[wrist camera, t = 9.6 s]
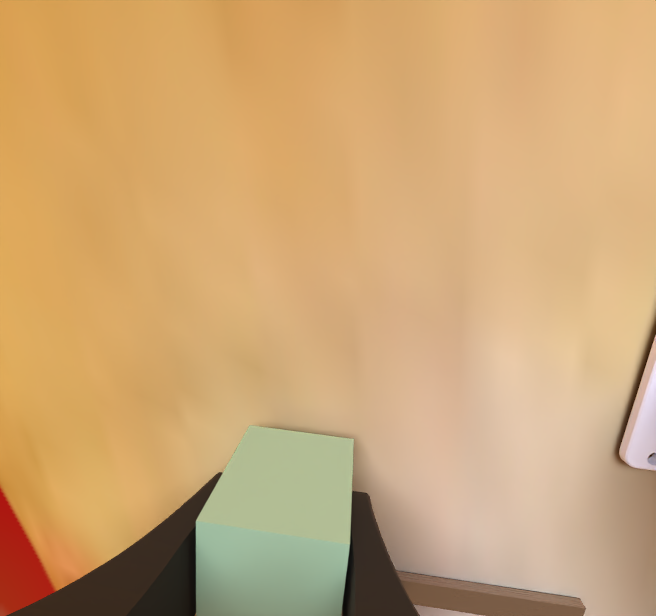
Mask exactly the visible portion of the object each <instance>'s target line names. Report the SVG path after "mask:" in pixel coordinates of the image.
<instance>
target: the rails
mask: <svg viewBox="0 0 656 616" xmlns="http://www.w3.org/2000/svg"><path fill="white" fill-rule="evenodd" d="M396 572H397V574H398V576H399V578H400V580H401V582H402V584H403V586H404V588H405V590H406V592H407V594H408V596H409V598H410V600H411V602H412V603H413V604H415V605H421V606H428V607H434V608H440V609H447V610H453V611H459V612H466V613H472V614H478V615H485V616H583V615H584V612H585V609H586V608H585V606H584V605H583V603H582V601H581V600H580V599H579V598H572V597H566V596H559V595H553V594H546V593H539V592H533V591H526V590H520V589H513V588H506V587H500V586H493V585H486V584H480V583H473V582H467V581H460V580H453V579H447V578H440V577H434V576H427V575H420V574H414V573H407V572H400V571H396Z"/></svg>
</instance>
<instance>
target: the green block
mask: <svg viewBox="0 0 656 616" xmlns="http://www.w3.org/2000/svg"><path fill="white" fill-rule="evenodd" d="M353 449H354V439H351V438H343V437H336V436H328V435H320V434H313V433H305V432H298V431H290V430H283V429H275V428H267V427H260V426H252V425H250V426H249V427H248V429H247V431H246V433H245V435H244V436H243V438H242V440H241V442H240V443H239V445H238V447H237V449H236V451H235V452H234V454H233V456H232V458H231V459H230V461H229V463H228V465H227V467H226V468H225V470H224V472H223V474H222V475H221V477H220V479H219V481H218V483H217V484H216V486H215V488H214V490H213V491H212V493H211V495H210V497H209V499H208V500H207V502H206V504H205V506H204V507H203V509H202V511H201V513H200V514H199V516H198V518H197V520H196V616H341V613H342V604H343V596H344V588H345V580H346V572H347V564H348V556H349V548H350V529H351V503H352V476H353Z"/></svg>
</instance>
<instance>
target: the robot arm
mask: <svg viewBox="0 0 656 616" xmlns="http://www.w3.org/2000/svg"><path fill="white" fill-rule="evenodd" d="M652 453H654V454H653V456H651V457H650V458H648V457H649V455H650V454H652ZM619 455H620V457H621V459H622V460H624V461H625V462H626V463H627V464H628V465H629V466H631V467H634V468H638V469H646V470H654V471H656V335H655V338H654V342H653V345H652V348H651V351H650V354H649V357H648V361H647V364H646V367H645V370H644V373H643V377H642V380H641V383H640V386H639V389H638V392H637V396H636V399H635V402H634V405H633V408H632V411H631V415H630V418H629V421H628V424H627V427H626V430H625V434H624V437H623V440H622V443H621V446H620V450H619ZM222 474H223V473H221V472H219V473H218V474H216V475H215V476H214V477H213V478H212V479H211V480H210V481H209V482H208V483H207V484H205V485H204V486H203V487H202V488H201V489H200V490H199V491H198V492H197V493H196V494H195V495H193V496H192V497H191V498H190V499H189V500H188V501H187V502H186V503H184V504H183V505H182V506H181V507H180V508H179V509H178V510H176V511H175V512H174V513H173V514H172V515H171V516H169V517H168V518H167V519H166V520H164V521H163V522H162V523H161V524H159V525H158V526H157V527H156V528H154V529H153V530H152V531H151V532H149V533H148V534H147V535H145V536H144V537H143V538H141V539H140V540H139V541H137V542H136V543H135V544H133V545H132V546H130V547H129V548H127V549H126V550H125V551H123V552H122V553H120V554H119V555H117V556H116V557H114V558H113V559H111V560H110V561H108V562H106V563H105V564H103V565H101V566H100V567H98V568H96V569H95V570H93V571H91V572H90V573H88V574H86V575H85V576H83V577H81V578H80V579H78V580H76V581H75V582H73V583H71V584H69V585H67V586H65V587H64V588H62V589H60V590H58V591H56V592H54V593H52V594H50V595H48V596H47V597H45V598H43V599H41V600H39V601H37V602H35V603H33V604H31V605H29V606H26V607H24V608H22V609H20V610H18V611H16V612H13V613H11V614H9V615H7V616H195V614H196V520H197V518H198V516H199V514H200V513H201V511H202V509H203V507H204V506H205V504H206V502H207V500H208V499H209V497H210V495H211V493H212V491H213V490H214V488H215V486H216V484H217V483H218V481H219V479H220V477H221V475H222ZM342 616H419V614H418V612H417V611H416V609H415V607H414V605H413V603H412V602H411V600H410V598H409V596H408V594H407V592H406V590H405V588H404V586H403V584H402V582H401V580H400V578H399V576H398V574H397V572H396V570H395V568H394V566H393V563H392V561H391V559H390V556H389V554H388V552H387V549H386V547H385V544H384V542H383V539H382V537H381V534H380V531H379V528H378V525H377V522H376V519H375V516H374V513H373V509H372V505H371V501H370V496H369V495H368V494H367V493H362V492H355V491H352V503H351V529H350V548H349V556H348V564H347V572H346V580H345V588H344V596H343V604H342Z"/></svg>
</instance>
